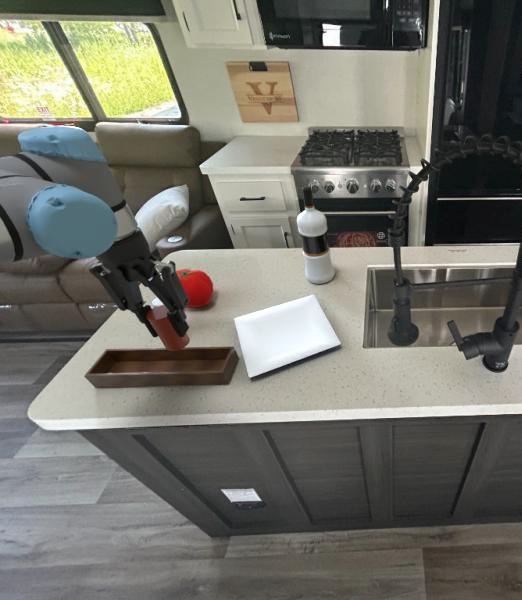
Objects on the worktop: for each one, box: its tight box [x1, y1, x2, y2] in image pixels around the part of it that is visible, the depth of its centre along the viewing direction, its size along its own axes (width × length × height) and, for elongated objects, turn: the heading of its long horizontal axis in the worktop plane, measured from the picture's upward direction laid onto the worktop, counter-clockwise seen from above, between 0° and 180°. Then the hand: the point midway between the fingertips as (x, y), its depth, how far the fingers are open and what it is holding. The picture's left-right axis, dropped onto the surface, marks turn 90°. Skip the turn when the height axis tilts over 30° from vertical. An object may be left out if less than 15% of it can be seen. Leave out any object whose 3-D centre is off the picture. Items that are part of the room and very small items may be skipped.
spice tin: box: [146, 305, 191, 351], centre depth 68 cm, size 5×5×9 cm
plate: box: [233, 294, 341, 379], centre depth 87 cm, size 22×22×2 cm
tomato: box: [176, 267, 214, 308], centre depth 94 cm, size 11×13×10 cm
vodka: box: [296, 185, 335, 285], centre depth 98 cm, size 9×9×30 cm
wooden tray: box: [84, 345, 240, 389], centre depth 76 cm, size 29×8×4 cm, turn 93°
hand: (171, 332), depth 69 cm, fingers closed on spice tin, 5 cm apart
